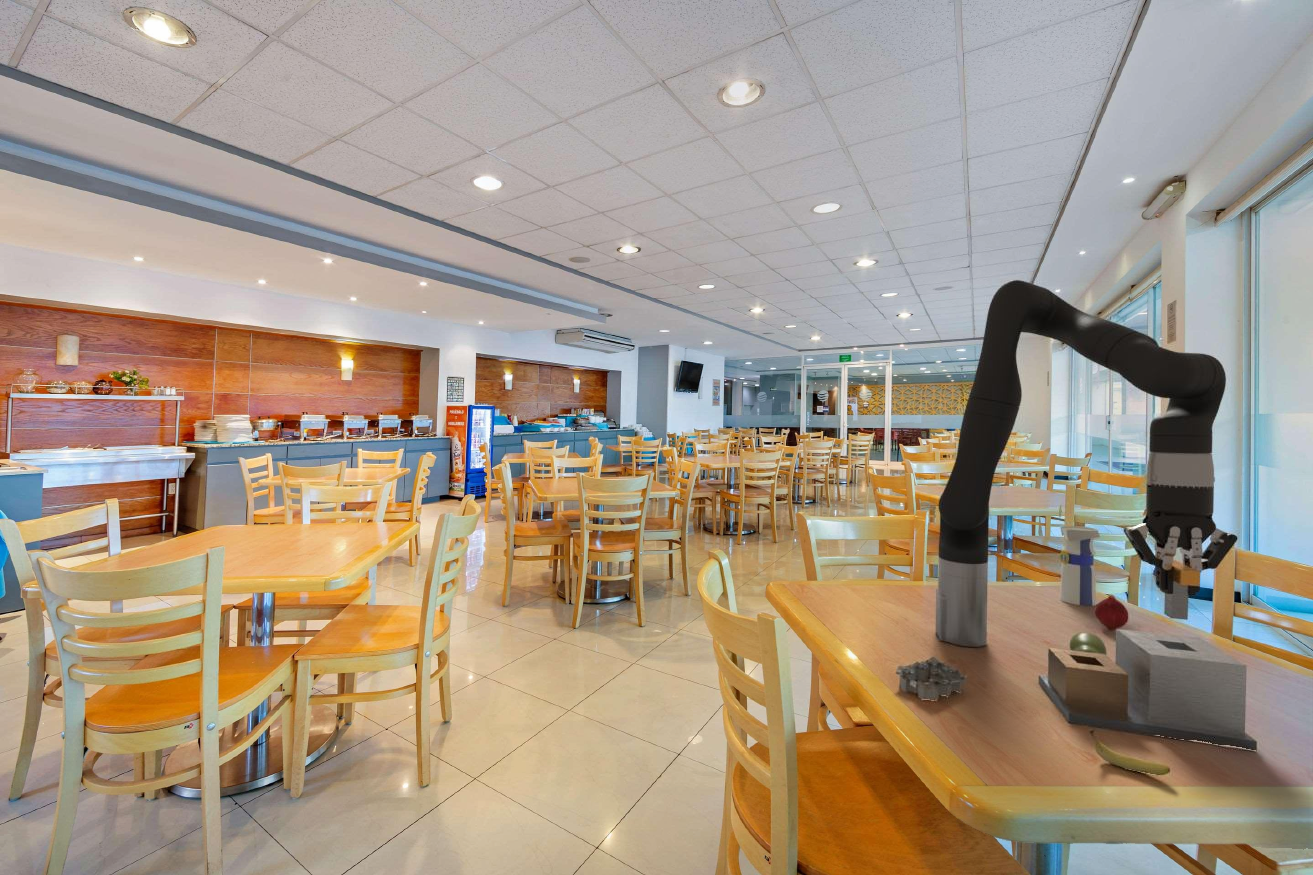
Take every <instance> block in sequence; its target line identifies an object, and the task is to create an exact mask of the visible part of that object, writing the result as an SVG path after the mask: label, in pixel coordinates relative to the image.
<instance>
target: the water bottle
mask: <svg viewBox="0 0 1313 875" xmlns="http://www.w3.org/2000/svg"><path fill="white" fill-rule="evenodd" d="M1058 511H1059V512H1058V514H1059V515H1058V517H1059V518H1060V519H1061V518H1062V505H1060V507H1059V509H1058ZM1060 532H1061V537H1064V539H1065V540H1064V541H1065V543H1064V546H1063V547H1062V549H1061V551H1060V555H1059V559H1060V561H1061V563H1062V564H1061V571H1060V573H1061V574H1060V589H1059V600H1060V601H1062V602H1065V603H1068V604H1071V605H1076V606H1082V605H1083V607H1084V606H1085V607H1094V606H1095V607H1096V606H1097V604H1098V603H1097V590H1096V587H1097V585H1096V581H1097V580H1096V579H1097V578H1096V577H1097V576H1096V573H1097V572H1096V568H1095V565H1094V561H1095V560H1094V558H1095V557H1094V555H1096V551H1095V549H1094V547H1093V543H1094V539H1097V538H1100V531H1099V530H1098V529H1097V528H1094V527H1090V526H1089V527H1088V526H1082V525H1081V526H1080V525H1075V526H1074V525H1063V526H1060Z"/></svg>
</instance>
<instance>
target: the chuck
mask: <svg viewBox="0 0 1313 875" xmlns="http://www.w3.org/2000/svg"><path fill="white" fill-rule="evenodd" d="M1047 661H1048V662H1047V663H1048V664H1047V666H1048V667H1047V669H1048V670H1047V674H1038V684H1039V685H1040V687H1041V688H1042V690H1043V691H1044V692H1045V693H1046V695H1047V696H1048V697H1049V699H1050V700H1051V701H1052V703H1053V704H1054V705H1055V707H1056V708H1057V709H1058V711H1059V710H1060V711H1059V712H1060V713H1061V715H1062V714H1063V715H1062V716H1063V718H1064V719H1065V720H1066V721H1067V722H1068V723H1069V722H1070V723H1069V724H1073V723H1074V724H1075V725H1080V724H1084V725H1083V726H1086V725H1088V727H1093V728H1099V729H1105V730H1112V729H1114V730H1113V731H1119V732H1124V733H1125V732H1127V733H1132V734H1138V735H1144V734H1146V735H1145V736H1150V735H1160V736H1164V737H1171V738H1176V739H1184V740H1197V741H1202V742H1203V741H1204V742H1208V743H1209V742H1210V743H1212V744H1218V745H1230V746H1236V747H1242V748H1246V749H1251V750H1256V751H1257V750H1258V745H1257V744H1258V741H1257V740H1256V739H1254V737H1252V736H1251V735H1249V734H1248V733H1247V732H1246V708H1247V707H1246V705H1247V704H1246V703H1247V702H1246V701H1247V698H1246V697H1247V669H1248V668H1247V665H1246V664H1245V663H1244V662H1242V661H1240V660H1238V659H1236V658H1235V657H1233V656H1231V655H1230V654H1228V653H1226V652H1225V651H1223V650H1221V649H1219V648H1218V647H1216V646H1215V645H1212V644H1211V643H1209V642H1208V641H1206V640H1204V639H1203V638H1201V637H1199V636H1198V637H1197V636H1196V637H1195V636H1187V635H1178V634H1177V635H1176V634H1167V633H1159V632H1158V633H1157V632H1151V631H1150V632H1149V631H1140V630H1132V629H1131V630H1130V629H1129V630H1128V629H1120V628H1117V629H1115V661H1114V660H1113V659H1111V657H1109V656H1108V655H1107V654H1106V655H1105V654H1099V653H1090V652H1082V651H1073V650H1071V649H1063V648H1056V647H1048V660H1047ZM1074 724H1073V725H1074ZM1176 739H1175V740H1176ZM1257 752H1258V751H1257Z"/></svg>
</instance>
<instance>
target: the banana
mask: <svg viewBox="0 0 1313 875" xmlns="http://www.w3.org/2000/svg"><path fill="white" fill-rule="evenodd" d="M1088 733H1089V735H1090V736H1091V737H1092V739H1093V741H1094V744H1095V746H1094V747H1095V748H1094V749H1095V752H1096V753H1097V755H1098V756H1100V757H1101V758H1102V759H1103V760H1104V761H1106V762H1107V763H1109V764H1111V765H1113V764H1114V765H1113V766H1115V765H1117V766H1116V767H1118V766H1120V767H1123V768H1127V769H1131V770H1135V771H1140V772H1145V773H1150V774H1156V775H1155V776H1164V775H1168V774H1170V773H1171V769H1170V767H1169V766H1167V765H1166V764H1164V763H1161V762H1156V761H1150V760H1146V759H1140V758H1135V757H1132V756H1128V755H1125V754H1122V753H1119V752H1116V751H1114V750H1112V749H1110V748H1108V747H1107V746H1105V744H1103V743H1101V742H1100V741H1099V740H1098V738H1097V735H1096V734H1095V729H1089V730H1088ZM1120 767H1119V768H1120ZM1123 768H1122V769H1123Z"/></svg>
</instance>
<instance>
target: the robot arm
mask: <svg viewBox="0 0 1313 875" xmlns="http://www.w3.org/2000/svg"><path fill="white" fill-rule="evenodd" d="M986 316H987V317H986V322H985V328H984V333H983V339H982V340H983V341H982V345H981V351H980V355H979V359H978V363H977V366H976V367H977V368H976V372H975V376H974V379H973V383H972V387H971V389H970V392H969V395H968V399H967V402H966V405H965V408H964V412H963V417H962V422H961V425H960V432H959V438H958V443H957V444H958V445H957V450H956V451H957V453H956V457H955V461H954V465H953V467H952V470H951V473H950V475H949V477H948V480H947V482H946V484H945V487H944V490H943V492H942V494H941V495H940V498H939V500H938V504H937V505H938V511H939V538H938V539H939V541H938V563H937V564H938V568H937V569H938V570H937V571H938V572H937V584H938V585H937V588H935V589H936V590H935V633H936V635H937V637H938V639H939V641H940V642H946V643H948V644H953V645H957V646H962V647H969V648H970V647H971V648H979V647H984V646H985V645H987V642H988V640H987V637H988V631H987V630H988V578H989V577H988V573H989V571H988V570H989V566H988V565H989V530H990V529H989V527H990V526H989V525H990V519H989V518H990V498H991V491H992V487H993V486H992V485H993V481H994V476H995V473H996V471H997V470H996V469H997V467H998V464H999V461H1000V460H1001V457H1002V455H1003V453H1004V452H1005V451H1004V450H1005V449H1006V447H1007V445H1008V441H1009V439H1010V437H1011V434H1012V432H1013V429H1014V426H1015V423H1016V420H1017V416H1018V414H1019V411H1020V406H1021V403H1022V398H1023V397H1022V396H1023V395H1022V394H1023V393H1022V383H1021V378H1020V373H1019V369H1018V364H1017V361H1018V360H1017V351H1018V350H1017V349H1018V345H1019V341H1020V337H1021V334H1022V333H1027V334H1032V335H1037V336H1042V337H1045V338H1050V339H1053V340H1056V341H1058V342H1060V343H1063V344H1064V345H1066V346H1068V347H1069V348H1072V349H1073V350H1074V351H1075V352H1077V353H1078V354H1079V355H1080V356H1082V357H1083V358H1086V359H1087V360H1090V361H1092V362H1094V363H1095V364H1097V365H1099V366H1102V367H1104V368H1106V369H1108V370H1111V371H1112V372H1115V373H1117V374H1119V376H1121V377H1122V378H1123V379H1124V380H1126V381H1128V383H1130V384H1131V385H1133V386H1134V387H1135V388H1137V389H1139V390H1140V391H1141V392H1144V393H1146V394H1149V395H1151V396H1153V397H1157V398H1161V399H1169V400H1168V404H1167V408H1166V410H1165V413H1164V414H1161V415H1158V416H1156V417H1155V418H1153V419H1152V421H1151V422H1150V426H1149V453H1148V454H1149V455H1148V459H1147V465H1146V489H1145V491H1146V494H1145V495H1146V496H1145V500H1146V501H1145V504H1146V505H1145V509H1146V510H1145V511H1146V515H1145V516H1144V518H1143V519H1142V523H1139V524H1138V525H1136V526H1132V527H1131V526H1126V527H1124V528H1123V533H1124V535H1125V536H1126V538H1127V539H1128V541H1129V543H1130V544H1131V545H1132V547H1133V549H1134V550H1135V552H1136V554H1137V555H1138V557H1139V558H1140V560H1141V561H1142V562H1144V563H1147V564H1149V565H1151V566H1154V567H1155V579H1156V580H1155V585H1156V587H1157V588H1158V589H1159V590H1160V591H1161V592H1162V593H1164V594H1165V593H1166V594H1173V571H1172V570H1171V568H1172V564H1173V560H1174V557H1175V556H1176V555H1177V549H1179V551H1180V553H1181V556H1182V558H1181V559H1182V564H1185V565H1187V566H1189V567H1191V568H1193V569H1196V570H1198V571H1200V574H1201V573H1202V572H1203V571H1204V570H1209V569H1211V570H1215V569H1217V568H1218V566H1219V565H1220V564H1221V563H1222V561H1223V560H1224V559H1225V557H1226V556H1227V554H1228V553H1229V552H1230V550H1231V549H1233V546H1234V545H1235V544H1236V542H1238V539H1239V538H1238V535H1235V534H1233V533H1228V532H1226V531H1223V530H1222V529H1219V528H1217V524H1216V523H1215V521H1214V520H1213V515H1214V505H1215V504H1214V502H1215V500H1214V499H1215V498H1214V496H1215V494H1214V493H1215V492H1214V491H1215V481H1216V477H1215V466H1214V465H1215V464H1214V460H1213V427H1214V426H1213V425H1214V422H1215V420H1216V418H1217V415H1218V413H1219V409H1220V406H1221V403H1222V400H1223V398H1224V394H1225V390H1226V386H1227V377H1226V371H1225V368H1224V366H1223V364H1222V363H1221V361H1220V360H1218V358H1216V357H1215V356H1212V355H1210V354H1207V353H1200V352H1199V353H1198V352H1177V351H1174V350H1170V349H1168V348H1164V347H1162V346H1159V344H1158V342H1157V340H1156V339H1154V338H1153V337H1152V336H1149V335H1147V334H1145V333H1143V332H1140V331H1137V330H1135V329H1133V328H1130V327H1127V326H1125V325H1122V324H1120V323H1117V322H1114V321H1111V320H1109V319H1106V318H1105V319H1104V318H1102V317H1101V318H1100V317H1098V316H1095V315H1091V314H1089V313H1086V312H1084V311H1082V310H1080V309H1078V308H1076V307H1074V306H1073V305H1072V304H1070V303H1069V302H1067V301H1065V300H1064V299H1063V298H1061V297H1060V296H1058V295H1057V294H1055V293H1054V292H1053V291H1051V290H1050V289H1048V288H1046V287H1044V286H1039V285H1037V284H1034V283H1031V282H1028V281H1025V280H1020V279H1012V280H1009V281H1007V282H1005V283H1004V284H1003V285H1001V286H1000V287H999V288H998V289H997V290H996V292H995V294H993V296H992V299H991V301H990V304H989V307H988V311H987V315H986ZM1147 532H1148V533H1149V535H1151V537H1152V538H1153V539H1154V547H1153V548H1154V551H1155V553H1154V552H1153V550H1152V549H1151V547H1150V545H1149V544H1148V542H1147V541H1146V539H1147V538H1148V535H1147ZM1208 538H1209V540H1210V543H1209V544H1208V545H1207V546H1206V548H1205V550H1204V551H1203V544H1204V543H1205V541H1206V540H1208ZM1200 590H1201V585H1200V586H1190V585H1189V594H1188V597H1189V596H1191V597H1195V596H1196V595H1197V594H1196V593H1199V592H1200Z"/></svg>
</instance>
